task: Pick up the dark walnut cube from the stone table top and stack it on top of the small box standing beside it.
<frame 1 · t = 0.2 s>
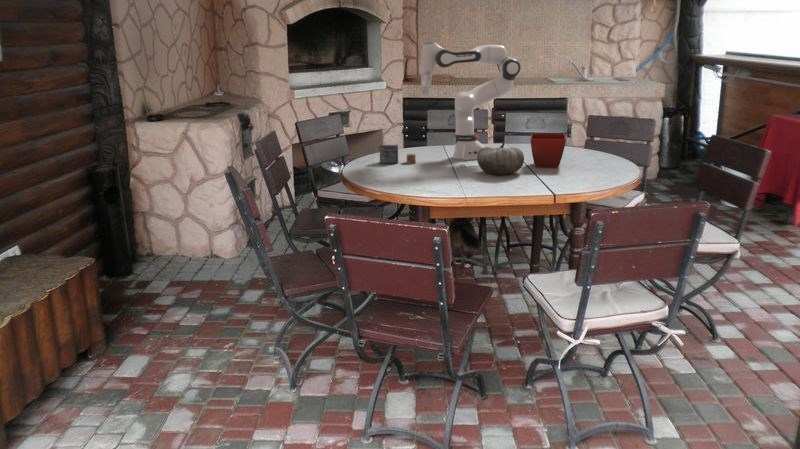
hand: (425, 94, 413), 39 cm above the table, fingers open, 8 cm apart
plant pot: (546, 165, 395), on the table
gourd: (499, 173, 378), on the table
small box: (389, 163, 411), on the table
walnut cube: (411, 162, 410), on the table
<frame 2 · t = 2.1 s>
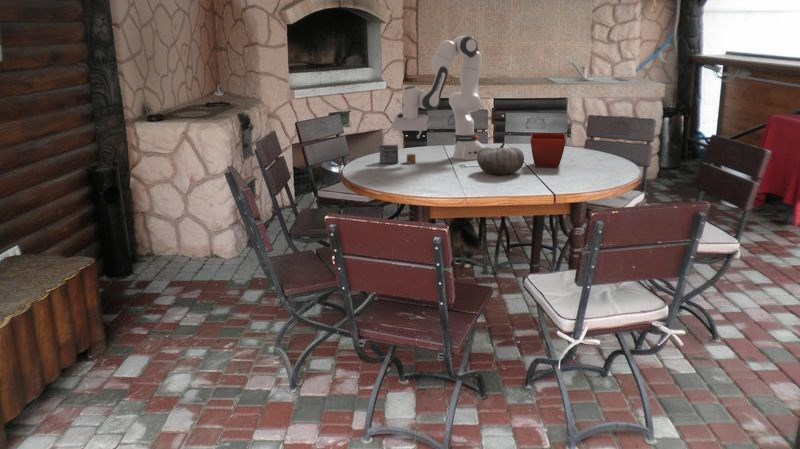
hand: (410, 138, 406), 15 cm above the table, fingers open, 8 cm apart
nothing on the table moved.
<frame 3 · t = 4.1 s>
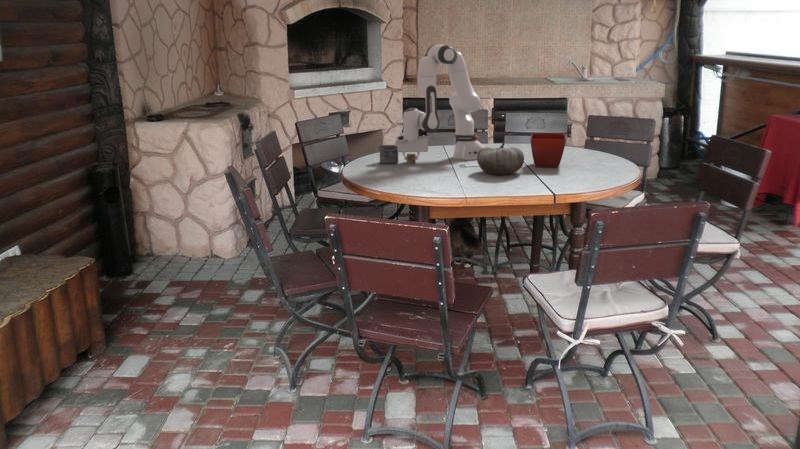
hand: (411, 159, 410), 2 cm above the table, fingers closed on walnut cube, 5 cm apart
walnut cube: (411, 162, 410), on the table, touching gripper
everything else where it was.
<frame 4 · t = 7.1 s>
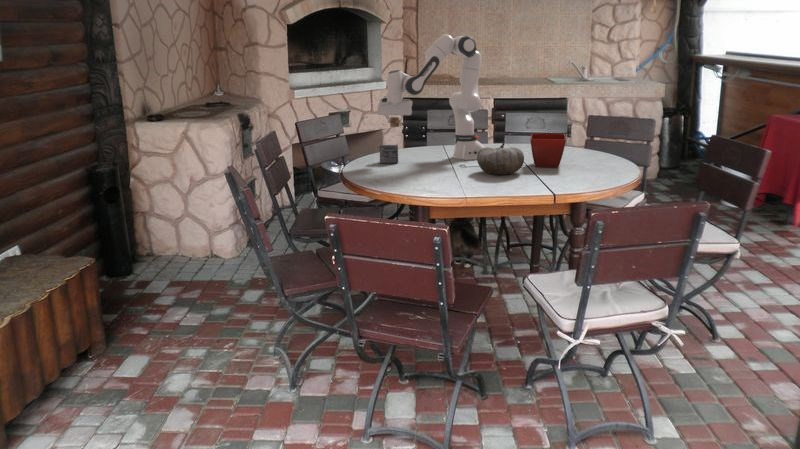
hand: (394, 122, 404), 24 cm above the table, fingers closed on walnut cube, 5 cm apart
walnut cube: (394, 126, 404), point 22 cm above the table, touching gripper
everything else where it was.
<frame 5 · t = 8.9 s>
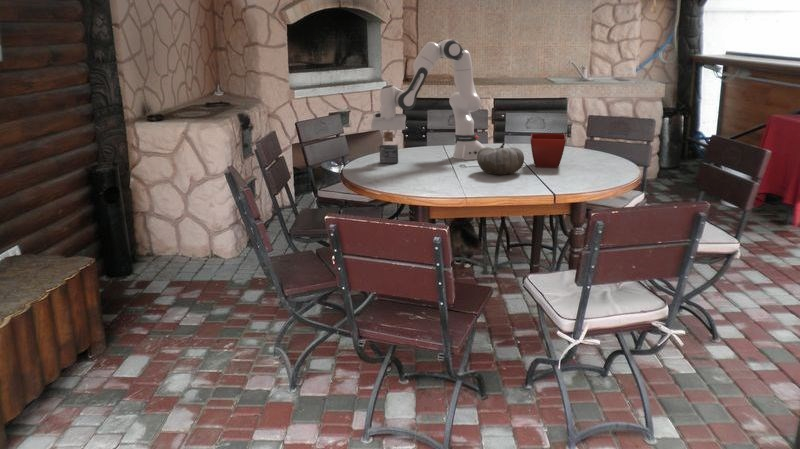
hand: (388, 137, 407), 15 cm above the table, fingers closed on walnut cube, 5 cm apart
walnut cube: (388, 140, 407), point 13 cm above the table, touching gripper
everything else where it was.
when the fingers open (13 cm above the table, at t = 10.1 s): walnut cube drops 1 cm, resting on small box.
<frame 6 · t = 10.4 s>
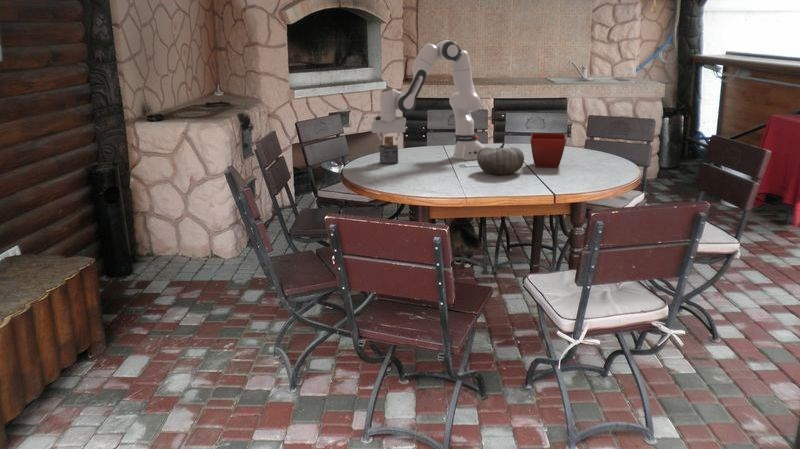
hand: (388, 140, 407), 13 cm above the table, fingers open, 8 cm apart
small box: (389, 163, 411), on the table, touching walnut cube
walnut cube: (388, 145, 408), point 10 cm above the table, touching small box
everything else where it was.
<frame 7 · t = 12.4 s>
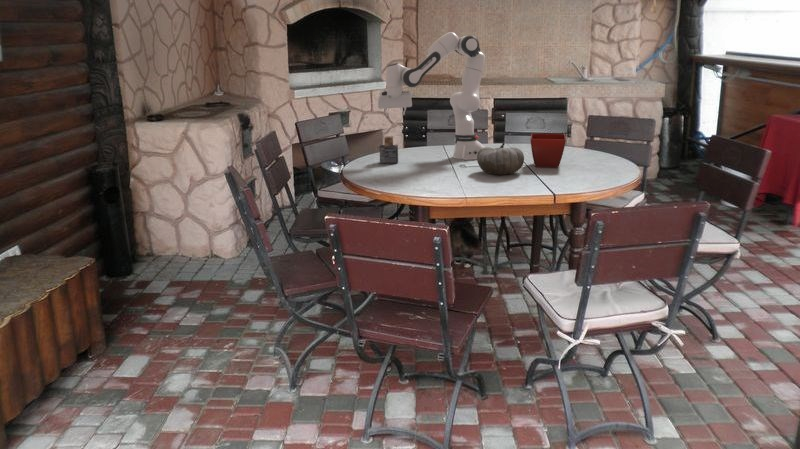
hand: (395, 115, 409), 27 cm above the table, fingers open, 8 cm apart
nothing on the table moved.
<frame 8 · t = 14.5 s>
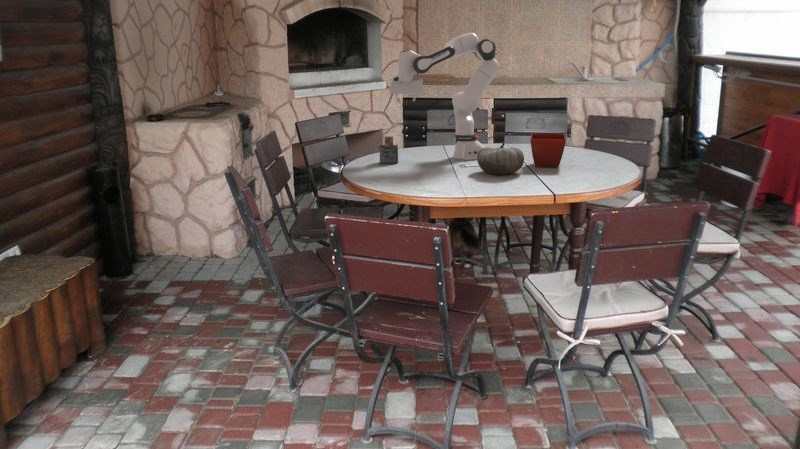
hand: (406, 101, 419), 34 cm above the table, fingers open, 8 cm apart
nothing on the table moved.
at the end: walnut cube inside the target area on the small box (0.1 cm from its centre), point 10.7 cm above the small box's base; small box tilted 0°; the gripper is holding nothing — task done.
